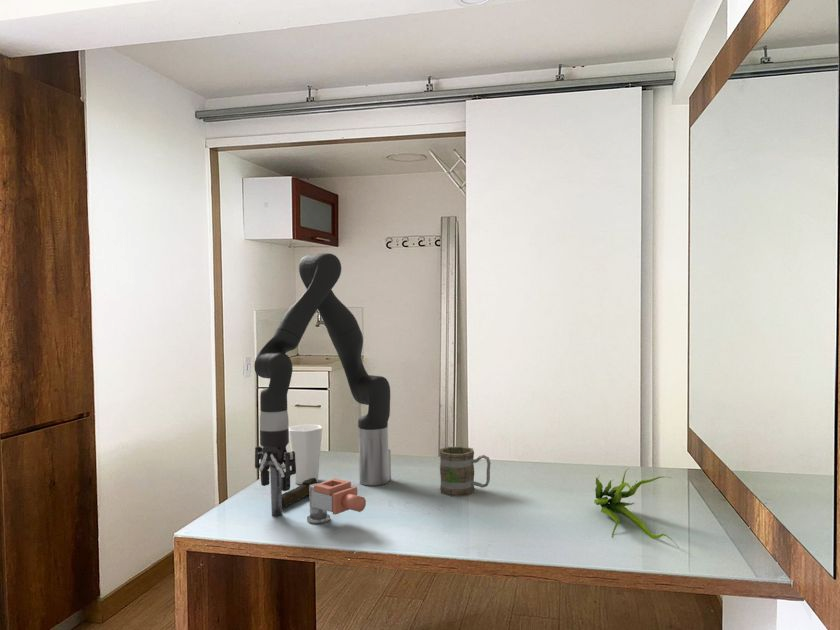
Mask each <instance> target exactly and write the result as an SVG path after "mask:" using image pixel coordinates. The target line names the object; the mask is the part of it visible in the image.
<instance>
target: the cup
mask: <svg viewBox="0 0 840 630" xmlns="http://www.w3.org/2000/svg"><path fill="white" fill-rule="evenodd" d="M322 434H323V427H322V426H321V425H320V424H309V423H307V424H304V423H303V424H298V425H292V426H289V445H290V452H292V451H294V452H295V462H296V474H293V475H294V481H295V484H296V485H302V482H303V481H305V480H308V479H311V478H315V479H316V480H317V483H318V482H319V475H320V473H319V472H320V461H321V460H320V459H321V450H322V449H321V447H322Z"/></svg>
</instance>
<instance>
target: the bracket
mask: <svg viewBox="0 0 840 630" xmlns="http://www.w3.org/2000/svg"><path fill="white" fill-rule="evenodd" d="M332 486H333V487H332ZM313 491H315V492H319V493H323V494H327V495H331V494H332V505H333V512H332V515H339V514H341V513H344V512H347V511H349V510H352V511H354V512H358V513H361V512H363V510H365V507H366V506H367V505H366V504H367V500H366V498H365V497H364V496H361V495H358V487H357V486H352V481H349V480H346V479H341V478H340V479H339V478H331V479H329V480H325V481H323V482H319V484H315V485H313Z"/></svg>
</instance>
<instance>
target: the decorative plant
mask: <svg viewBox="0 0 840 630" xmlns="http://www.w3.org/2000/svg"><path fill="white" fill-rule="evenodd" d="M628 470H630V467H629V468H627V469H626V470H625V471H624V472H623V477H622V480H621V483H620V484H619V485H617V486H614V487H612V481H614V479H610V480H609V482H608V484H607V485H606V486H605V487H604V486H603V484H602V482H601V481H600V479H599V478H600V474H599V475H598V477H595V485H596V487H595V490H594V491H595V499H594V500H593V501H594V503H593V504H596V506H600V507H601V511H600V512H601V513H603V514H605V515H607V516H609V517H610V518H612V520H613V521H615V524H614V526H613V529H612V533H611V537H613V536H614V534H615V531H616V530H617V527H618V525H619V524H620V522H621V520H620V518H619V515H618V514H620V515H622V516H623V517H626V519H628V520H630V521H631V522H632V523H633V524H634V525H635V526H637V527H638V528H639V529H640V530H641V531H642V532H643V533H644V534H645V535H647V536H648V537H650V538H651V539H660V538H661V537H663V536H664V537H666V538H668V539H669V540H671V541H672V542H673V543H674V544H675V546H677V548H678V549H680V547H679V546H678V545H677V543H676V542H675V541H674V539H672V538H671V537H670V536H668V535H667V534H666V533H660V534H654V533H652V532H651V531H650V530H649V528H648V527H647V525H646V524H645V523H644V521H643V520H642V519H640V517H637V516H636V515H635V514H634V513H633V512H632V511H630V510H629V508H627V506H632V505H634V504H635V502H632V503H631V502H625V501H622V499H626V498H629V497H631V496H634V495H635V494H636V492H637V490H638V489H639V487H640V486H641V485H643V484H647V483H651V482H654V481H656V480H658V479H660V478H661V479H662V478H664V476H656V477H654V478H651V479H642V480H640V481H638V480H636V481H635V484H634V485H632V486H631V485H630V484H629V483H628V482H626V481H625V479H626V473H627V471H628ZM667 478H669V479H672V477H670V476H667ZM625 487H627V488H629V489H628V490H627V491H623V490H624V488H625ZM603 488H604V490H603ZM609 497H610V498H609Z"/></svg>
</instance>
